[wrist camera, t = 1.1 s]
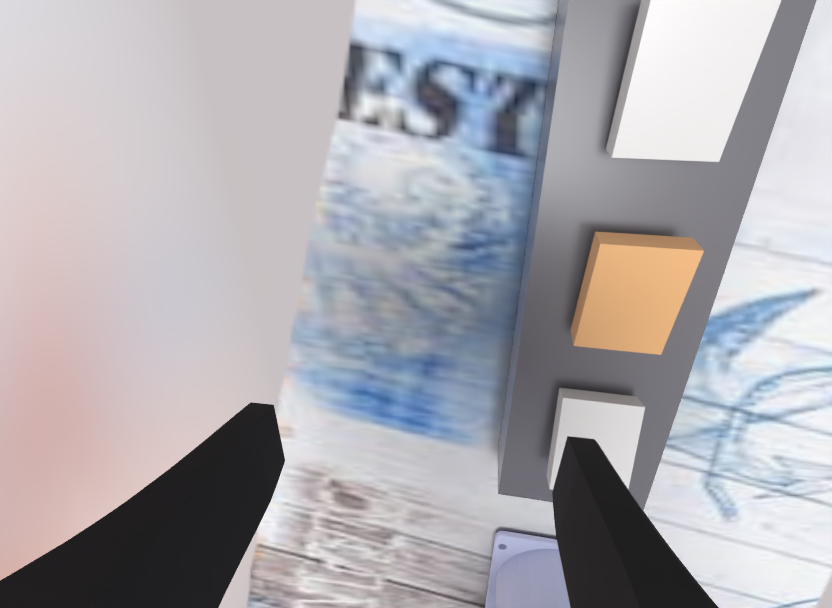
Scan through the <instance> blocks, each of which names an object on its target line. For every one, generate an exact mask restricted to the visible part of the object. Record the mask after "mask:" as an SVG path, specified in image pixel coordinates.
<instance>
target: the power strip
mask: <svg viewBox="0 0 832 608" xmlns="http://www.w3.org/2000/svg"><path fill="white" fill-rule="evenodd" d="M640 3H641V0H559V2H558V10H557V17H556V25H555V32H554V40H553V47H552V54H551V62H550V69H549V77H548V84H547V92H546V99H545V106H544V114H543V121H542V129H541V136H540V143H539V151H538V158H537V166H536V173H535V181H534V188H533V195H532V203H531V210H530V218H529V225H528V233H527V240H526V247H525V255H524V262H523V270H522V277H521V284H520V292H519V299H518V307H517V314H516V322H515V329H514V336H513V344H512V351H511V359H510V366H509V373H508V381H507V388H506V396H505V403H504V411H503V418H502V425H501V433H500V440H499V448H498V494H503V495H510V496H516V497H523V498H529V499H536V500H543V501H549V502H553V497H552V491H553V490H551V489H549V485H548V481H547V476H546V474H547V467H548V461H549V454H550V447H551V440H552V434H553V427H554V420H555V413H556V407H557V400H558V393H559V388H567V389H576V390H585V391H593V392H602V393H611V394H619V395H628V396H637V397H638V399H639V400H640V401H641V403H642V404H643V405H644V407H645V411H644V416H643V421H642V425H641V430H640V435H639V440H638V445H637V450H636V455H635V460H634V465H633V470H632V474H631V479H630V484H629V489H628V490H629V491H630V493H631V494H632V496H633V497H634V499H635V500H636V501H637V503H638V504H639V506H640V507H641V509H642V510H644V507H645V504H646V501H647V498H648V495H649V492H650V489H651V486H652V483H653V480H654V477H655V474H656V471H657V468H658V466H659V463H660V460H661V457H662V454H663V451H664V448H665V445H666V442H667V439H668V436H669V433H670V430H671V427H672V424H673V421H674V418H675V415H676V412H677V410H678V407H679V404H680V401H681V398H682V395H683V392H684V389H685V386H686V383H687V380H688V377H689V374H690V371H691V368H692V365H693V362H694V359H695V356H696V354H697V351H698V348H699V345H700V342H701V339H702V336H703V333H704V330H705V327H706V324H707V321H708V318H709V315H710V312H711V309H712V306H713V303H714V300H715V298H716V295H717V292H718V289H719V286H720V283H721V280H722V277H723V274H724V271H725V268H726V265H727V262H728V259H729V256H730V253H731V250H732V247H733V244H734V241H735V239H736V236H737V233H738V230H739V227H740V224H741V221H742V218H743V215H744V212H745V209H746V206H747V203H748V200H749V197H750V194H751V191H752V188H753V185H754V183H755V180H756V177H757V174H758V171H759V168H760V165H761V162H762V159H763V156H764V153H765V150H766V147H767V144H768V141H769V138H770V135H771V132H772V129H773V127H774V124H775V121H776V118H777V115H778V112H779V109H780V106H781V103H782V100H783V97H784V94H785V91H786V88H787V85H788V82H789V79H790V76H791V73H792V71H793V68H794V65H795V62H796V59H797V56H798V53H799V50H800V47H801V44H802V41H803V38H804V35H805V32H806V29H807V26H808V23H809V20H810V17H811V15H812V12H813V9H814V6H815V3H816V0H781V3H780V5H779V8H778V10H777V13H776V16H775V18H774V21H773V23H772V26H771V29H770V31H769V34H768V36H767V39H766V42H765V44H764V47H763V49H762V52H761V54H760V57H759V60H758V62H757V65H756V67H755V70H754V73H753V75H752V78H751V80H750V83H749V85H748V88H747V91H746V93H745V96H744V98H743V101H742V104H741V106H740V109H739V111H738V114H737V116H736V119H735V122H734V124H733V127H732V129H731V132H730V135H729V137H728V140H727V142H726V145H725V148H724V150H723V153H722V155H721V158H720V160H719V162H707V161H683V160H658V159H633V158H612V157H611V156H610V155H609V153H608V152H607V151H606V146H607V142H608V138H609V134H610V130H611V125H612V121H613V117H614V113H615V109H616V104H617V100H618V96H619V92H620V87H621V83H622V79H623V75H624V71H625V66H626V62H627V58H628V54H629V50H630V45H631V41H632V37H633V33H634V28H635V24H636V20H637V16H638V12H639V7H640ZM595 232H611V233H627V234H642V235H658V236H674V237H689V238H694V240H695V241H696V242H697V243H698V244H699V245H700V247H701V248H702V249H703V250H704V252H703V255H702V257H701V260H700V262H699V264H698V267H697V269H696V272H695V274H694V276H693V279H692V281H691V284H690V286H689V289H688V291H687V293H686V296H685V298H684V301H683V303H682V305H681V308H680V310H679V313H678V315H677V317H676V320H675V322H674V325H673V327H672V329H671V332H670V334H669V337H668V339H667V342H666V344H665V346H664V349H663V351H662V354H661V355H658V354H648V353H638V352H628V351H618V350H608V349H598V348H588V347H578V346H574V345H573V340H572V336H571V331H570V330H571V326H572V322H573V318H574V314H575V310H576V306H577V302H578V298H579V294H580V290H581V286H582V282H583V278H584V274H585V270H586V266H587V262H588V258H589V254H590V250H591V246H592V242H593V238H594V234H595Z"/></svg>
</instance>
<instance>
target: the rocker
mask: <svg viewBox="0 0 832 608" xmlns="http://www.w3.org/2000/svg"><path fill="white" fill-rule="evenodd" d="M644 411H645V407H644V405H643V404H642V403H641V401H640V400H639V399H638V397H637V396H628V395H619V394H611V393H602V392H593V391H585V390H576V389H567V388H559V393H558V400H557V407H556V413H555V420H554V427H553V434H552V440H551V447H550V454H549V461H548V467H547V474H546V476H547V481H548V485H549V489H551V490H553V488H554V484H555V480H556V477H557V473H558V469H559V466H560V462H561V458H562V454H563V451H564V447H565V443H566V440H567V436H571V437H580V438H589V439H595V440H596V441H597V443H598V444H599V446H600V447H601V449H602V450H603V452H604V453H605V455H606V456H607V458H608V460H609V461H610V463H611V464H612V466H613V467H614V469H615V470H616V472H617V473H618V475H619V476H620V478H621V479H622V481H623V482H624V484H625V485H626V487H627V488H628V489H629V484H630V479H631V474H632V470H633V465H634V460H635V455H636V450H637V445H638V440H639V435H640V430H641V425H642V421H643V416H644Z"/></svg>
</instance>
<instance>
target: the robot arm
mask: <svg viewBox="0 0 832 608" xmlns="http://www.w3.org/2000/svg"><path fill="white" fill-rule="evenodd" d="M284 462H285V458H284V453H283V448H282V443H281V439H280V434H279V429H278V424H277V419H276V414H275V409H274V405H269V404H260V403H250V404H248V405H247V406H246V407H245V408H243V410H241V411H240V412H239V413H237V414H236V415H235V416H234V417H233V418H231V419H230V420H229V421H228V422H227V423H225V424H224V425H223V426H222V427H221V428H219V429H218V430H217V431H216V432H214V433H213V434H212V435H211V436H210V437H209V438H207V439H206V440H205V441H204V442H202V443H201V444H200V445H199V446H198V447H196V448H195V449H194V450H193V451H191V452H190V453H189V454H188V455H186V456H185V457H184V458H183V459H182V460H180V461H179V462H178V463H176V464H175V465H174V466H173V467H171V469H169V470H168V471H166V472H165V473H164V474H162V475H161V476H160V477H158V478H157V479H156V480H154V481H153V482H152V483H150V484H149V485H148V486H146V487H145V488H144V489H143V490H141V491H140V492H138V493H137V494H136V495H134V496H133V497H132V498H130V499H129V500H128V501H127V502H125V503H123V504H122V505H120V506H119V507H118V508H116V509H115V510H113V511H112V512H110V513H109V514H107V515H106V516H105V517H103V518H102V519H100V520H99V521H97V522H95V523H94V524H92V525H91V526H89V527H88V528H86V529H85V530H83V531H82V532H80V533H79V534H77V535H76V536H74V537H72V538H71V539H70V540H68V541H66V542H65V543H63V544H61V545H60V546H58V547H56V548H55V549H53V550H51V551H50V552H48V553H46V554H45V555H43V556H41V557H40V558H38V559H36V560H34V561H33V562H31V563H29V564H28V565H26V566H24V567H23V568H21V569H19V570H18V571H16V572H14V573H13V574H11V575H9V576H7V577H6V578H4V579H2V580H1V581H0V608H218V607H219V605H220V603H221V601H222V598H223V596H224V594H225V592H226V590H227V588H228V586H229V584H230V582H231V580H232V578H233V576H234V574H235V572H236V570H237V568H238V566H239V564H240V561H241V560H242V558H243V555H244V554H245V552H246V550H247V548H248V546H249V544H250V542H251V540H252V538H253V536H254V534H255V532H256V530H257V528H258V526H259V524H260V522H261V520H262V518H263V516H264V513H265V511H266V509H267V507H268V505H269V503H270V501H271V499H272V496H273V493H274V490H275V488H276V485H277V482H278V480H279V477H280V474H281V471H282V468H283V465H284ZM552 497H553V508H554V520H555V529H556V538H557V539H551V538H545V537H539V536H532V535H526V534H520V533H514V532H508V531H499V532H497V533H496V535H495V540H494V547H493V554H492V561H491V567H490V574H489V581H488V588H487V595H486V602H485V608H718V606H717V605H716V604H715V603H714V602H713V601H712V599H711V598H710V597H709V596H708V595H707V593H706V592H705V591H704V590H703V588H702V587H701V586H700V585H699V584H698V582H697V581H696V580H695V579H694V577H693V576H692V575H691V574H690V572H689V571H688V570H687V569H686V567H685V566H684V565H683V564H682V562H681V561H680V560H679V558H678V557H677V556H676V555H675V553H674V552H673V551H672V549H671V548H670V547H669V545H668V544H667V543H666V541H665V540H664V539H663V538H662V536H661V535H660V533H659V532H658V531H657V529H656V528H655V526H654V525H653V524H652V522H651V521H650V520H649V518H648V517H647V515H646V514H645V513H644V511H643V510H642V509H641V507H640V506H639V504H638V503H637V501H636V500H635V499H634V497H633V496H632V494H631V493H630V491H629V490H628V488H627V487H626V485H625V484H624V482H623V481H622V479H621V478H620V476H619V475H618V473H617V472H616V470H615V469H614V467H613V466H612V464H611V463H610V461H609V460H608V458H607V456H606V455H605V453H604V452H603V450H602V449H601V447H600V446H599V444H598V443H597V441H596V440H595V439H589V438H580V437H571V436H567V440H566V443H565V447H564V451H563V454H562V458H561V462H560V466H559V469H558V473H557V477H556V480H555V484H554V488H553V491H552Z"/></svg>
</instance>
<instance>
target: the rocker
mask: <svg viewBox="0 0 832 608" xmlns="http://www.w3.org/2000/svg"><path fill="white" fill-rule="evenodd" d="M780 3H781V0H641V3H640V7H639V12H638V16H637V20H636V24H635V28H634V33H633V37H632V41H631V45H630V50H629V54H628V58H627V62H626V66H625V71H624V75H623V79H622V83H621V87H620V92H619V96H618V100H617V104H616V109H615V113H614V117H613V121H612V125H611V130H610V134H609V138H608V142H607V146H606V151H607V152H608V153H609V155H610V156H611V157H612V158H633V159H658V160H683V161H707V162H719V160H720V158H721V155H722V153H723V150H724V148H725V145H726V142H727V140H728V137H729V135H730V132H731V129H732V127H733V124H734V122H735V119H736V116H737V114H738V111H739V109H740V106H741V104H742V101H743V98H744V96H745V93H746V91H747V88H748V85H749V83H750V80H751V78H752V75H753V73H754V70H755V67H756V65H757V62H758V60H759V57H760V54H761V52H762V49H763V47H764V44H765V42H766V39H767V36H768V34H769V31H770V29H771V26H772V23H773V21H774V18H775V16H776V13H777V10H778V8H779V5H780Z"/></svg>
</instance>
